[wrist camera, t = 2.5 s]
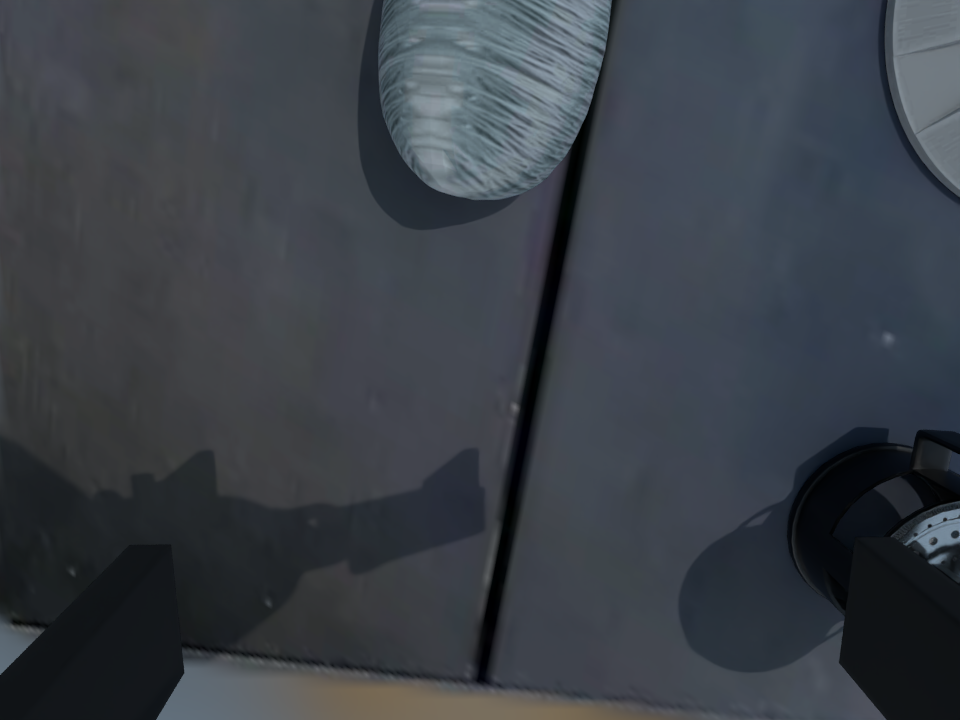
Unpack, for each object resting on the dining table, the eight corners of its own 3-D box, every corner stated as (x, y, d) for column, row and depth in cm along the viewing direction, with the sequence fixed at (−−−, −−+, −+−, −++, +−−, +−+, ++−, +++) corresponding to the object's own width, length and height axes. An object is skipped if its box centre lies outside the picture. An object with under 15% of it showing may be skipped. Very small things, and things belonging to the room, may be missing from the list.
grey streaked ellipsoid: (456, -142, 30) (309, -213, 22) (668, -157, 27) (584, -247, 19) (448, 169, 36) (330, 202, 28) (621, 193, 33) (542, 240, 24)
